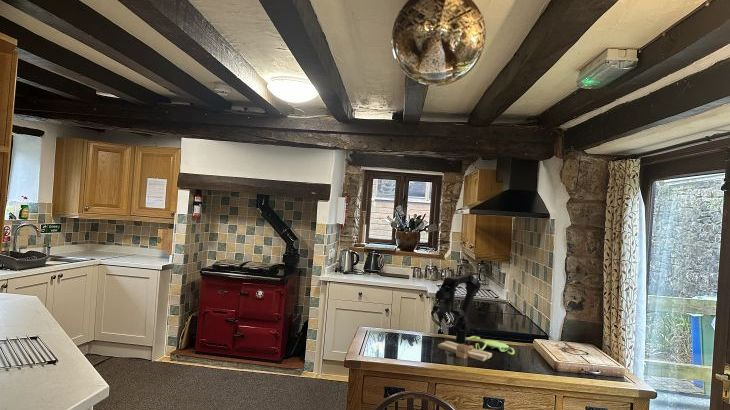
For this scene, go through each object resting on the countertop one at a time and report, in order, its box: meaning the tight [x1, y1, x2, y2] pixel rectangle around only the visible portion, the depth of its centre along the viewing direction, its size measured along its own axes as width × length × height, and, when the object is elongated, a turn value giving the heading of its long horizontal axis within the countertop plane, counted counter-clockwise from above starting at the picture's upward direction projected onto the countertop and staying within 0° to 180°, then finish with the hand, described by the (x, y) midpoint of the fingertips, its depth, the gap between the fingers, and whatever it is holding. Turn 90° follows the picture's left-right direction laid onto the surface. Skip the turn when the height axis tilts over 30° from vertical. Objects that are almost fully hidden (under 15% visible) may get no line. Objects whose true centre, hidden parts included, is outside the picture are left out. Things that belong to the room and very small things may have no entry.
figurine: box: [466, 335, 516, 356], centre depth 283 cm, size 18×26×6 cm
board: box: [437, 340, 493, 362], centre depth 271 cm, size 12×28×2 cm, turn 52°
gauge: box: [455, 343, 475, 360], centre depth 266 cm, size 16×5×6 cm, turn 142°
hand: (446, 324), depth 282 cm, fingers open, 9 cm apart
